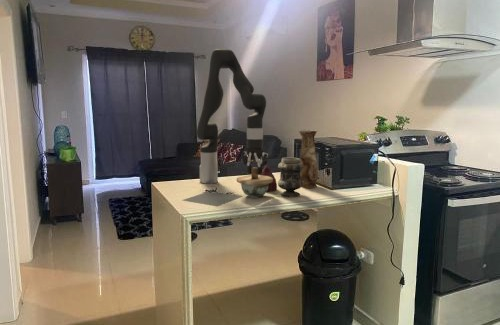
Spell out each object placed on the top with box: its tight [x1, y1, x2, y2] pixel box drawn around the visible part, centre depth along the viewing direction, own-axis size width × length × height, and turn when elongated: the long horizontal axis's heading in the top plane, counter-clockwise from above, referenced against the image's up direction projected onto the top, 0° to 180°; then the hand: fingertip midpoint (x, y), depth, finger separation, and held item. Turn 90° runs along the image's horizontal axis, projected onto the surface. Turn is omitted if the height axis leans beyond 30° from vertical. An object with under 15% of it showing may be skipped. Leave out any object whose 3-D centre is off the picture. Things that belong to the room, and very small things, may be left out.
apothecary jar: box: [277, 157, 303, 198], centre depth 185 cm, size 12×12×18 cm
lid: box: [236, 166, 273, 185], centre depth 180 cm, size 17×17×6 cm
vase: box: [298, 129, 319, 189], centre depth 202 cm, size 10×11×30 cm
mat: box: [182, 191, 244, 207], centre depth 178 cm, size 20×20×1 cm
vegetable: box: [261, 164, 278, 193], centre depth 195 cm, size 10×10×15 cm
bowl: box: [240, 183, 269, 199], centre depth 181 cm, size 14×13×8 cm
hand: (254, 174), depth 179 cm, fingers open, 4 cm apart
